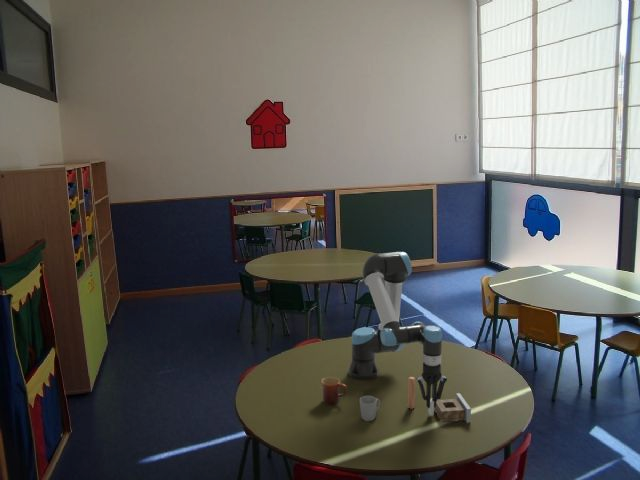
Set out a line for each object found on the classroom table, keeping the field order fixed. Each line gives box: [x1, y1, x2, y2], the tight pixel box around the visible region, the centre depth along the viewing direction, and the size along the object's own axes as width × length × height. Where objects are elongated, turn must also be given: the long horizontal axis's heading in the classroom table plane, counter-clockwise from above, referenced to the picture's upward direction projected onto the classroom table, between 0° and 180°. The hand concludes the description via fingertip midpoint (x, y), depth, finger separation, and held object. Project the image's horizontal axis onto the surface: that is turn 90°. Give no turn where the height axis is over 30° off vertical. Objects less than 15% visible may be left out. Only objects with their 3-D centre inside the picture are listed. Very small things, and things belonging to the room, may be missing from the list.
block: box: [434, 398, 465, 423], centre depth 237 cm, size 10×10×5 cm
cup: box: [359, 395, 381, 422], centre depth 237 cm, size 8×10×8 cm
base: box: [455, 392, 472, 423], centre depth 237 cm, size 2×14×6 cm, turn 5°
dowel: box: [407, 376, 416, 410], centre depth 243 cm, size 3×3×14 cm
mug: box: [320, 376, 348, 406], centre depth 250 cm, size 12×9×10 cm
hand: (430, 413), depth 236 cm, fingers closed
